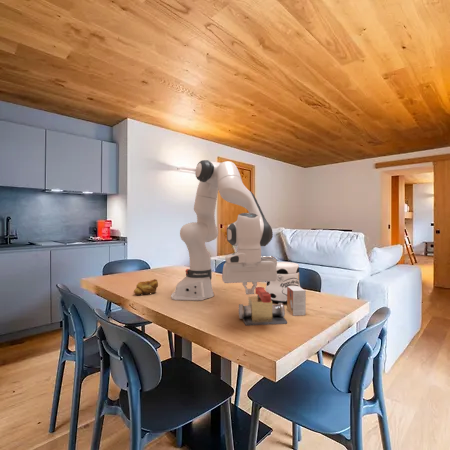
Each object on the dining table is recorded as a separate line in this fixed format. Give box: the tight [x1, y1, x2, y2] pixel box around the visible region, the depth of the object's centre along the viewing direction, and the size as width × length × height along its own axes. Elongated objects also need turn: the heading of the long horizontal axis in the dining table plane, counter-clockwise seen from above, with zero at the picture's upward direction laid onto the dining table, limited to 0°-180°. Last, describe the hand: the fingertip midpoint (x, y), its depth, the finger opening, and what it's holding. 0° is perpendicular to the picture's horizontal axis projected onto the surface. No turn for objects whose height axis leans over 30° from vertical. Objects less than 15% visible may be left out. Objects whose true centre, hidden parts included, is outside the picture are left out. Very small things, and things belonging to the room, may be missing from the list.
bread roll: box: [133, 278, 159, 296], centre depth 154 cm, size 13×10×8 cm
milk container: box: [264, 261, 301, 304], centre depth 138 cm, size 17×17×18 cm
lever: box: [254, 286, 272, 303], centre depth 107 cm, size 14×4×3 cm, turn 5°
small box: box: [286, 286, 307, 316], centre depth 120 cm, size 8×6×10 cm
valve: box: [238, 294, 288, 326], centre depth 112 cm, size 18×12×10 cm
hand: (249, 294), depth 103 cm, fingers closed
